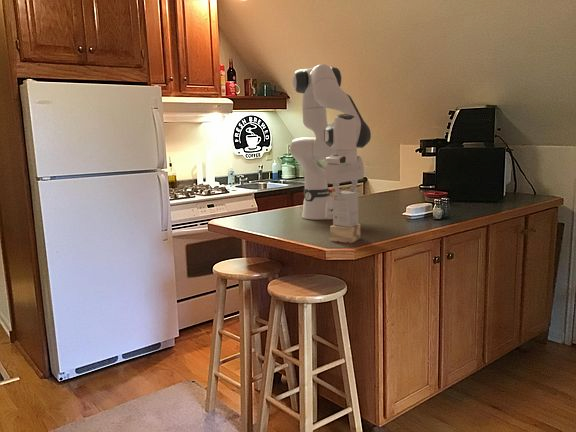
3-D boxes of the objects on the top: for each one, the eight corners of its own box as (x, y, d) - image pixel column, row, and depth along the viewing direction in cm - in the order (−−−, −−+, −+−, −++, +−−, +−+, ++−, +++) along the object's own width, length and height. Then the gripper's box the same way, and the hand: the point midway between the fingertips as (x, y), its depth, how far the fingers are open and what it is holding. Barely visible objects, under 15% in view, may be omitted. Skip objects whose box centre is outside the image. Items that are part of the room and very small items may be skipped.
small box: (358, 224, 205) (358, 191, 203) (349, 227, 200) (349, 193, 198) (342, 222, 210) (341, 190, 208) (332, 225, 206) (332, 192, 203)
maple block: (339, 236, 212) (339, 222, 211) (360, 238, 208) (360, 224, 207) (330, 241, 205) (330, 226, 204) (351, 243, 200) (351, 228, 199)
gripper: (355, 155, 210) (355, 189, 213) (322, 158, 196) (322, 195, 198) (368, 155, 206) (367, 190, 208) (335, 159, 191) (335, 196, 194)
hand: (345, 193), depth 203 cm, fingers open, 8 cm apart
